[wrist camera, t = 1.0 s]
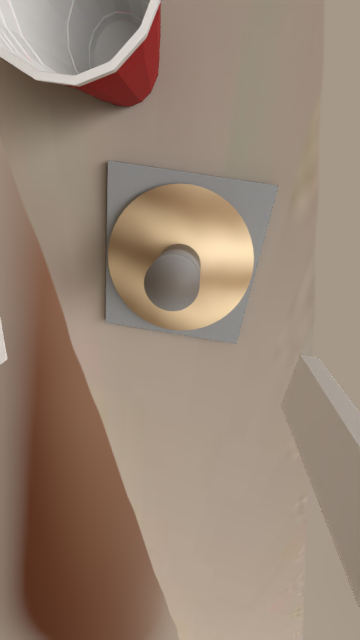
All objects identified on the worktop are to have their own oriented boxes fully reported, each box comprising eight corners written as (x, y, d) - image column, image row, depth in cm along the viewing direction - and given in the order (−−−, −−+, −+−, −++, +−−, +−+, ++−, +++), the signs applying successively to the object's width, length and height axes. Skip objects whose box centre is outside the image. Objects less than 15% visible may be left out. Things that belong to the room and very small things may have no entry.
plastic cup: (185, -46, 19) (160, -374, 8) (192, 132, 23) (181, 71, 13) (47, -21, 20) (-137, -282, 9) (78, 143, 25) (-22, 97, 14)
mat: (111, 161, 25) (107, 160, 24) (275, 186, 25) (278, 185, 24) (108, 319, 32) (105, 322, 31) (235, 339, 32) (236, 343, 31)
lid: (112, 173, 25) (74, 161, 17) (269, 196, 24) (297, 194, 17) (109, 315, 31) (80, 350, 24) (234, 335, 31) (243, 377, 23)
